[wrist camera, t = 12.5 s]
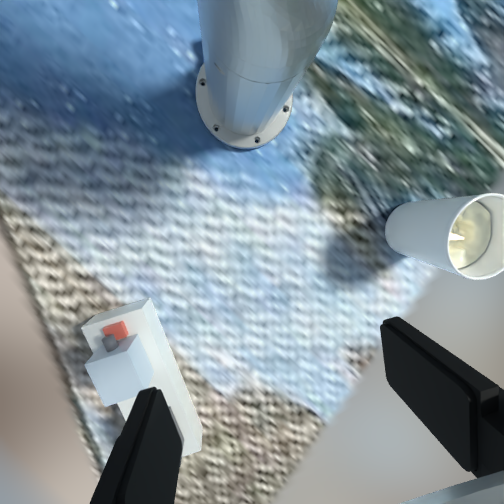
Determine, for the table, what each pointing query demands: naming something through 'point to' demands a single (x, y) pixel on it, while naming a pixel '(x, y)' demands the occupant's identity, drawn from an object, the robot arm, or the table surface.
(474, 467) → the robot arm
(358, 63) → the table surface
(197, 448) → the power strip
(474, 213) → the candle holder
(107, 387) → the grey plug
